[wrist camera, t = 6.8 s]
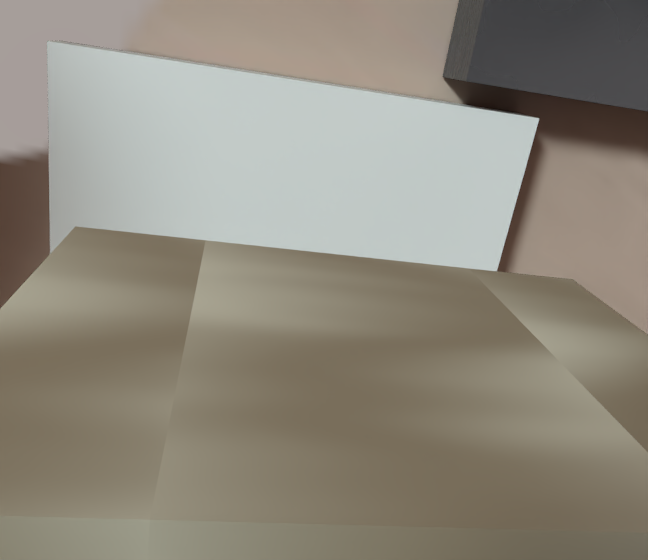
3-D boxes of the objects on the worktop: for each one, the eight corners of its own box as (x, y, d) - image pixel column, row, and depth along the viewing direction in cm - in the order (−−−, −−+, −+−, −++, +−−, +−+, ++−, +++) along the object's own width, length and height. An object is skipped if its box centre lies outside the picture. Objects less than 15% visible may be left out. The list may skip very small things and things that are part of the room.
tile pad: (519, 112, 14) (539, 118, 13) (426, 463, 17) (436, 487, 16) (62, 40, 12) (46, 40, 11) (64, 447, 15) (53, 473, 14)
